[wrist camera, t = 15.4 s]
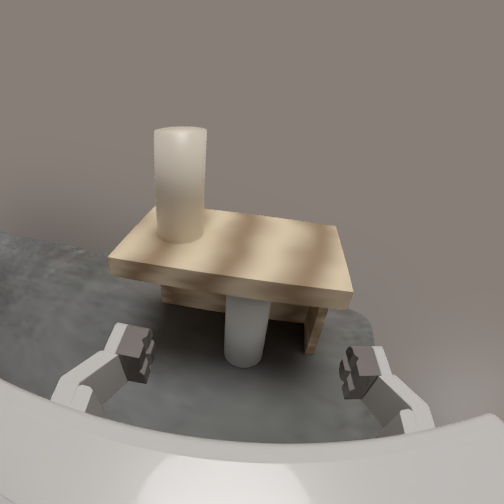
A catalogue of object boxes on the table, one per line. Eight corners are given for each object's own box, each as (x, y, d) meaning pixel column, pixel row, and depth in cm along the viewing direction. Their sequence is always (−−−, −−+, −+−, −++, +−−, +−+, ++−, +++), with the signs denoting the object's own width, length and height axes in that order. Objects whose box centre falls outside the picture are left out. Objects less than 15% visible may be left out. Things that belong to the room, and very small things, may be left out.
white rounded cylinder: (150, 240, 27) (145, 134, 22) (167, 219, 31) (165, 125, 26) (196, 246, 27) (198, 135, 22) (208, 224, 31) (212, 127, 26)
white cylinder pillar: (220, 364, 33) (222, 300, 28) (227, 336, 37) (230, 272, 32) (260, 370, 33) (271, 307, 28) (263, 341, 37) (274, 278, 32)
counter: (133, 360, 32) (107, 257, 24) (164, 297, 42) (157, 204, 35) (313, 390, 31) (353, 291, 23) (311, 319, 41) (335, 226, 34)
